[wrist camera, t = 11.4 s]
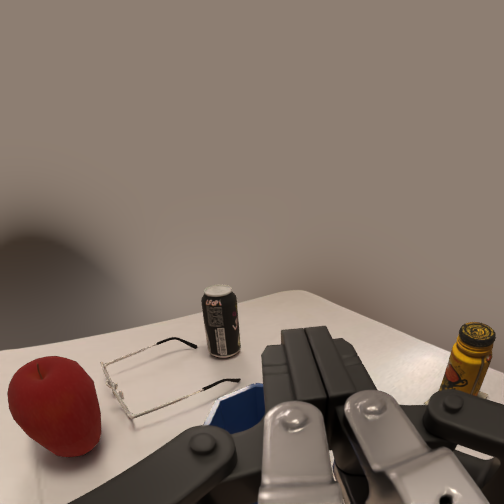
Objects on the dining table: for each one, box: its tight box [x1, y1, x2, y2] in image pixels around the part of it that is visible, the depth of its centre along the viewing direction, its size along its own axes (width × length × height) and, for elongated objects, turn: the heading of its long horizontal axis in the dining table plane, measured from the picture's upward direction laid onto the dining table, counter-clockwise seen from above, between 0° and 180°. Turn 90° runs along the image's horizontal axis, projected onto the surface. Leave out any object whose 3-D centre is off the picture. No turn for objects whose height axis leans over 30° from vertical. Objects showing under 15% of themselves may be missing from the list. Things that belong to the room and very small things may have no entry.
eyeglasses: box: [100, 337, 241, 420], centre depth 42 cm, size 16×19×5 cm
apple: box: [7, 356, 101, 457], centre depth 26 cm, size 12×12×13 cm
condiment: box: [425, 322, 496, 405], centre depth 29 cm, size 7×8×12 cm
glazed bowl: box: [203, 383, 265, 504], centre depth 25 cm, size 11×11×8 cm
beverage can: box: [202, 285, 241, 358], centre depth 50 cm, size 6×6×12 cm
